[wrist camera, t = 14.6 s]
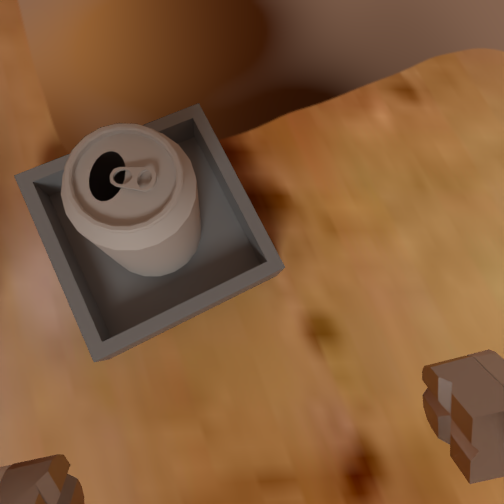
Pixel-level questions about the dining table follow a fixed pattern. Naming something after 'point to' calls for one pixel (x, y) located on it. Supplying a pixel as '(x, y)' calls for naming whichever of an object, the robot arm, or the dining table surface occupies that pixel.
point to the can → (134, 198)
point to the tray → (155, 287)
